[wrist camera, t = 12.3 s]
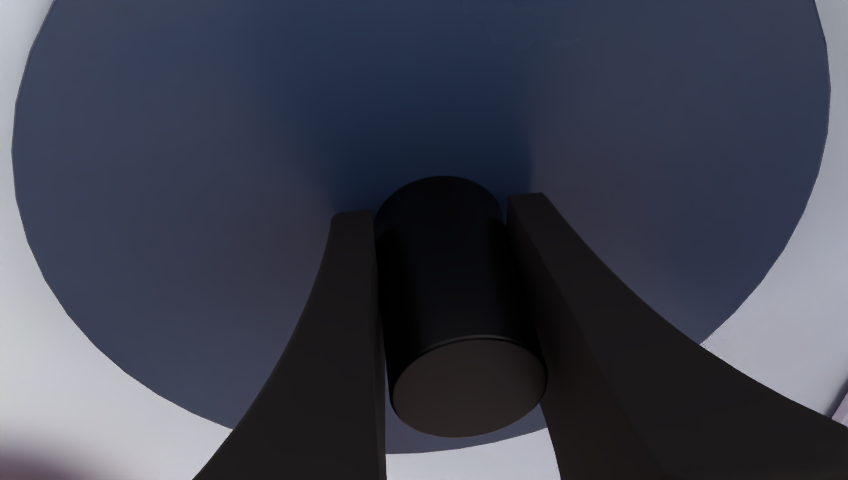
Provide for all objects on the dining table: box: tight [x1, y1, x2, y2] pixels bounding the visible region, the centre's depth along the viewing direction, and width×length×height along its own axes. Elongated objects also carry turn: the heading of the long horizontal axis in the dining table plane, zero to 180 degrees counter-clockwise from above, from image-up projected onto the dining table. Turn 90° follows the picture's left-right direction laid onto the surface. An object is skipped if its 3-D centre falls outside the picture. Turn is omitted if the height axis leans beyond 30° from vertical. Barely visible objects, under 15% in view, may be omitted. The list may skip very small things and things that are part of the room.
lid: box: [11, 0, 831, 454], centre depth 14 cm, size 14×14×5 cm
